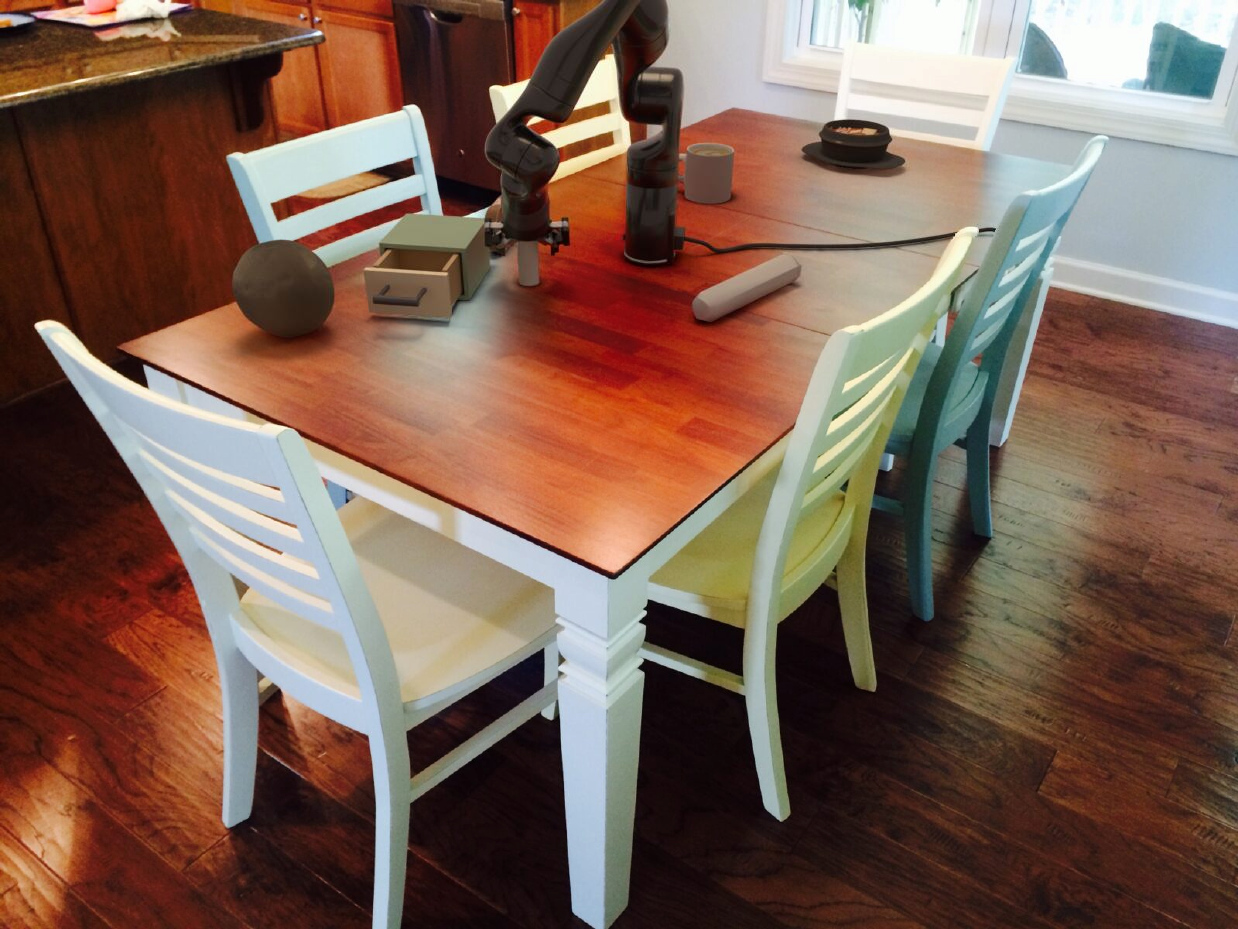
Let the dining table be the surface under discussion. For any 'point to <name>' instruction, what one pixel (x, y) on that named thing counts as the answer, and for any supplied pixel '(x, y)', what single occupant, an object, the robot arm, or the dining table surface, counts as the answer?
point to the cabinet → (445, 242)
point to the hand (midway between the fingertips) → (528, 250)
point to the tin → (495, 217)
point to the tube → (746, 287)
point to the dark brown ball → (283, 288)
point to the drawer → (414, 283)
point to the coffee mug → (707, 172)
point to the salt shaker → (528, 263)
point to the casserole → (854, 145)
